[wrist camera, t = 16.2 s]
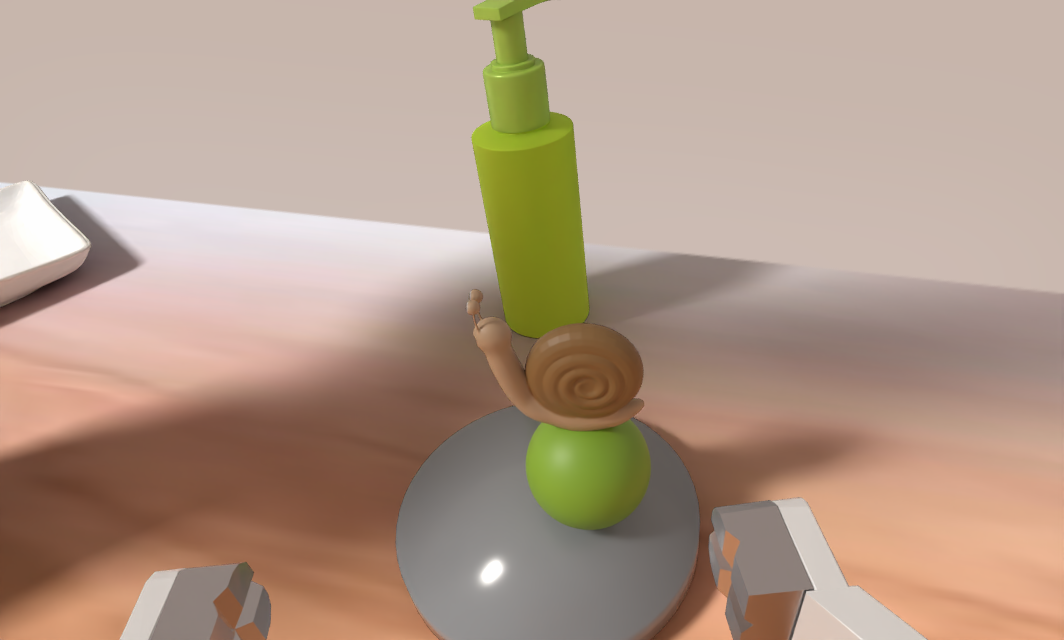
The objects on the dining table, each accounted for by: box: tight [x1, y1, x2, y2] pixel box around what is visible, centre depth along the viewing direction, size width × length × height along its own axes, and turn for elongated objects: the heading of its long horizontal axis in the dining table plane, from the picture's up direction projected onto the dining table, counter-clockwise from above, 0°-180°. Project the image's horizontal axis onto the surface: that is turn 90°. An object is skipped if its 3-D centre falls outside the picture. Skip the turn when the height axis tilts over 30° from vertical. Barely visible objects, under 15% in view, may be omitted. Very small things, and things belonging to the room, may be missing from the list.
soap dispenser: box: [472, 0, 589, 338], centre depth 39 cm, size 6×7×20 cm
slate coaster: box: [396, 406, 700, 640], centre depth 30 cm, size 14×14×2 cm
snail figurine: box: [466, 289, 651, 530], centre depth 26 cm, size 5×6×12 cm
